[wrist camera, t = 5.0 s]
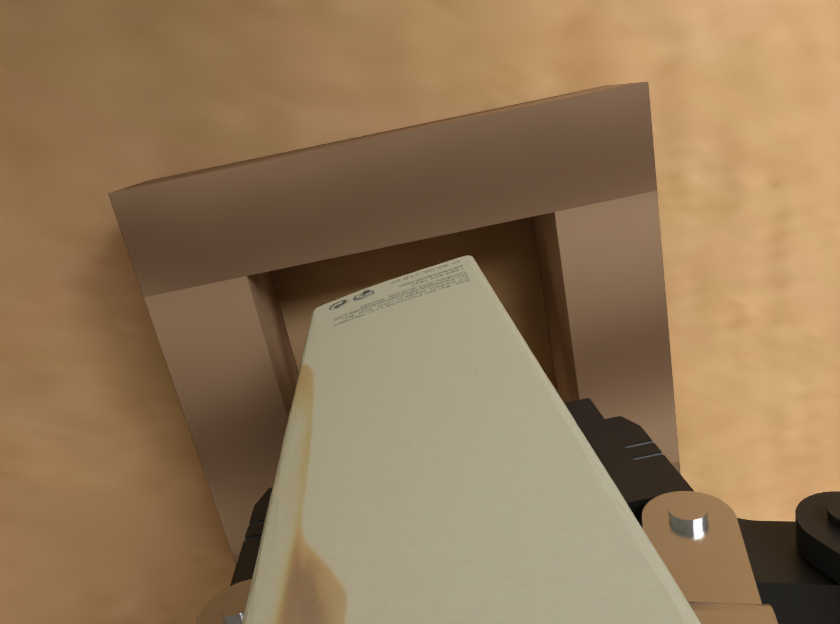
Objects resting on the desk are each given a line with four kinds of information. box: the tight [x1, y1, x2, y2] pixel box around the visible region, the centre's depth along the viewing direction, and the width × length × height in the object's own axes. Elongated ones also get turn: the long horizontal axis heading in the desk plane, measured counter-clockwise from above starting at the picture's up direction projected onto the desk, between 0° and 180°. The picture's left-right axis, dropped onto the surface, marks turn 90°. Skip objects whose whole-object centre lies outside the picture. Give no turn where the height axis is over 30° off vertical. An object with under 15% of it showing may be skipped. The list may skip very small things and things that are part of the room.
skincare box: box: [242, 256, 701, 624], centre depth 11 cm, size 6×4×12 cm
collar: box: [108, 82, 680, 565], centre depth 20 cm, size 14×14×3 cm
